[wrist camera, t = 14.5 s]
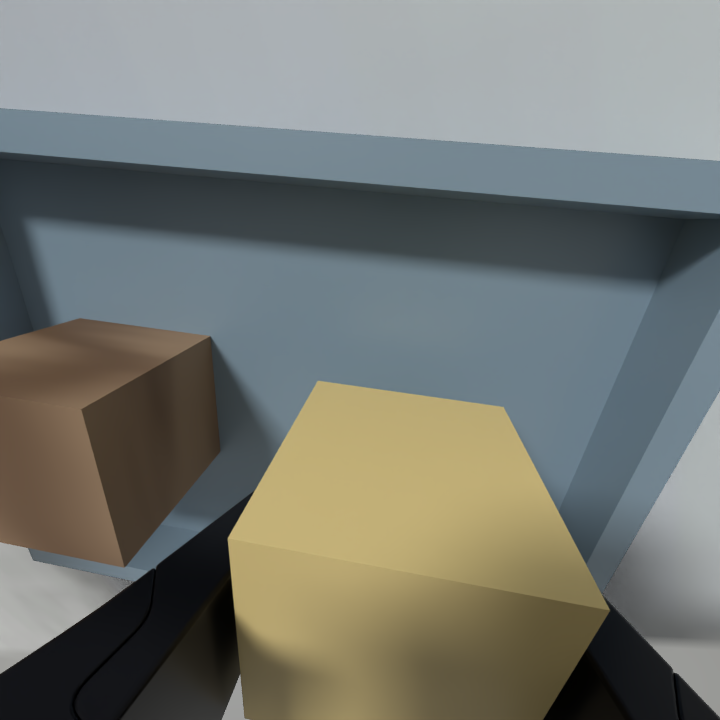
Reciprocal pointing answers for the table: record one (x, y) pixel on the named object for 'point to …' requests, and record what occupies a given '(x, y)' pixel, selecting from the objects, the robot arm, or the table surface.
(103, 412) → the walnut block
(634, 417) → the slate tray
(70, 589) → the table surface
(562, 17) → the table surface
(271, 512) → the ochre block
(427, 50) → the table surface
